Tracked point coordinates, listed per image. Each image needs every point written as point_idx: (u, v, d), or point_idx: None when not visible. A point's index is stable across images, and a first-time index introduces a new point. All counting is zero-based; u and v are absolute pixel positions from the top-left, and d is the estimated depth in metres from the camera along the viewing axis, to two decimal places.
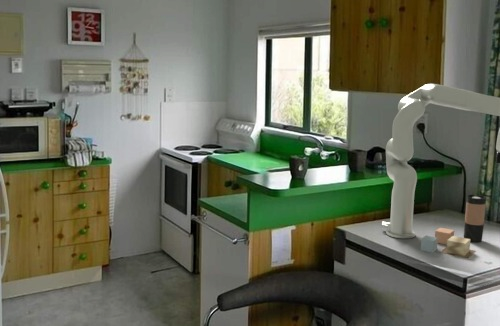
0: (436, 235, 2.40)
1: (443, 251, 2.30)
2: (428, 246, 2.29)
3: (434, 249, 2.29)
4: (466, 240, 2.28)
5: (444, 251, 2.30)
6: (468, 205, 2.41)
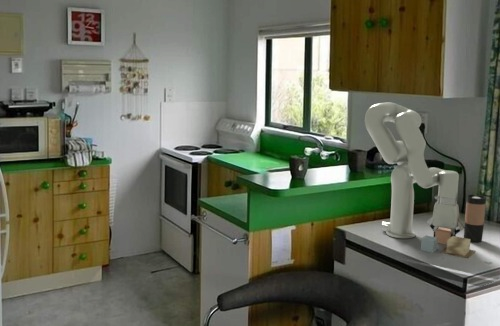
0: (436, 235, 2.40)
1: (443, 251, 2.30)
2: (428, 246, 2.29)
3: (434, 249, 2.29)
4: (466, 240, 2.28)
5: (444, 251, 2.30)
6: (468, 205, 2.41)
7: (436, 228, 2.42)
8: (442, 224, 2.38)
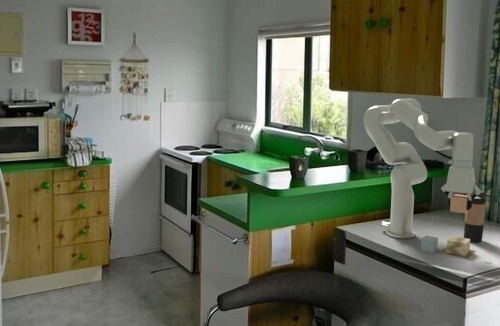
0: (452, 201, 2.27)
1: (443, 251, 2.30)
2: (428, 246, 2.29)
3: (434, 249, 2.29)
4: (466, 240, 2.28)
5: (444, 251, 2.30)
6: None
7: (451, 194, 2.29)
8: (458, 189, 2.25)
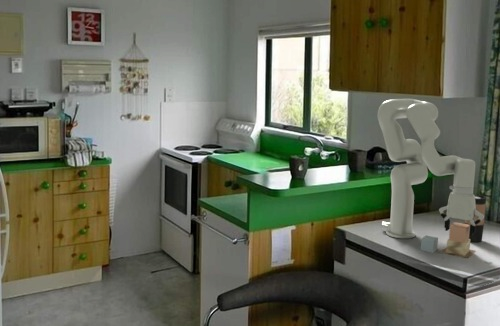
0: (451, 230, 2.27)
1: (443, 251, 2.30)
2: (428, 246, 2.29)
3: (434, 249, 2.29)
4: None
5: (444, 251, 2.30)
6: None
7: (447, 217, 2.29)
8: (457, 215, 2.25)
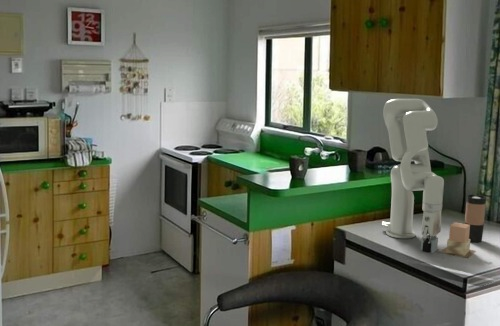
0: (451, 230, 2.27)
1: (443, 251, 2.30)
2: None
3: (434, 249, 2.29)
4: None
5: (444, 251, 2.30)
6: (468, 205, 2.41)
7: (430, 239, 2.28)
8: (437, 231, 2.28)
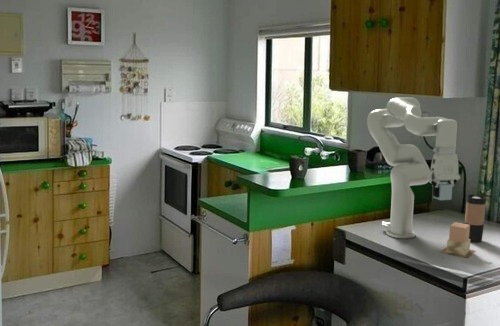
0: (451, 230, 2.27)
1: (443, 251, 2.30)
2: None
3: (444, 195, 2.24)
4: None
5: (444, 251, 2.30)
6: (468, 205, 2.41)
7: None
8: (447, 177, 2.22)
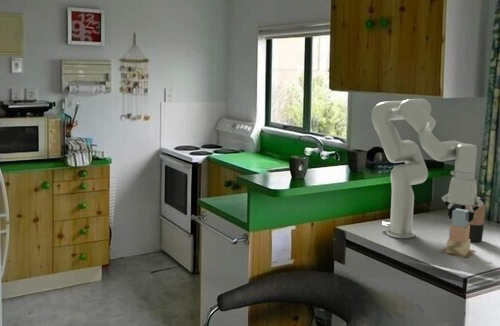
0: (451, 230, 2.27)
1: (443, 251, 2.30)
2: None
3: (455, 221, 2.26)
4: None
5: (444, 251, 2.30)
6: None
7: (451, 205, 2.27)
8: (459, 201, 2.24)
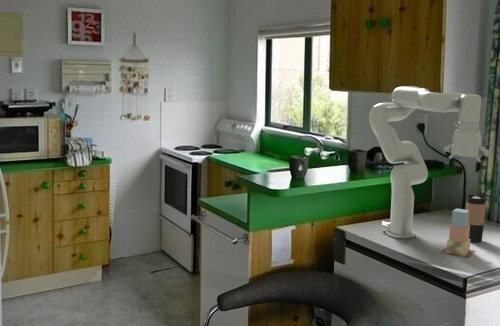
0: (451, 230, 2.27)
1: (443, 251, 2.30)
2: None
3: (455, 221, 2.26)
4: None
5: (444, 251, 2.30)
6: (468, 205, 2.41)
7: (452, 155, 2.24)
8: (463, 152, 2.20)
